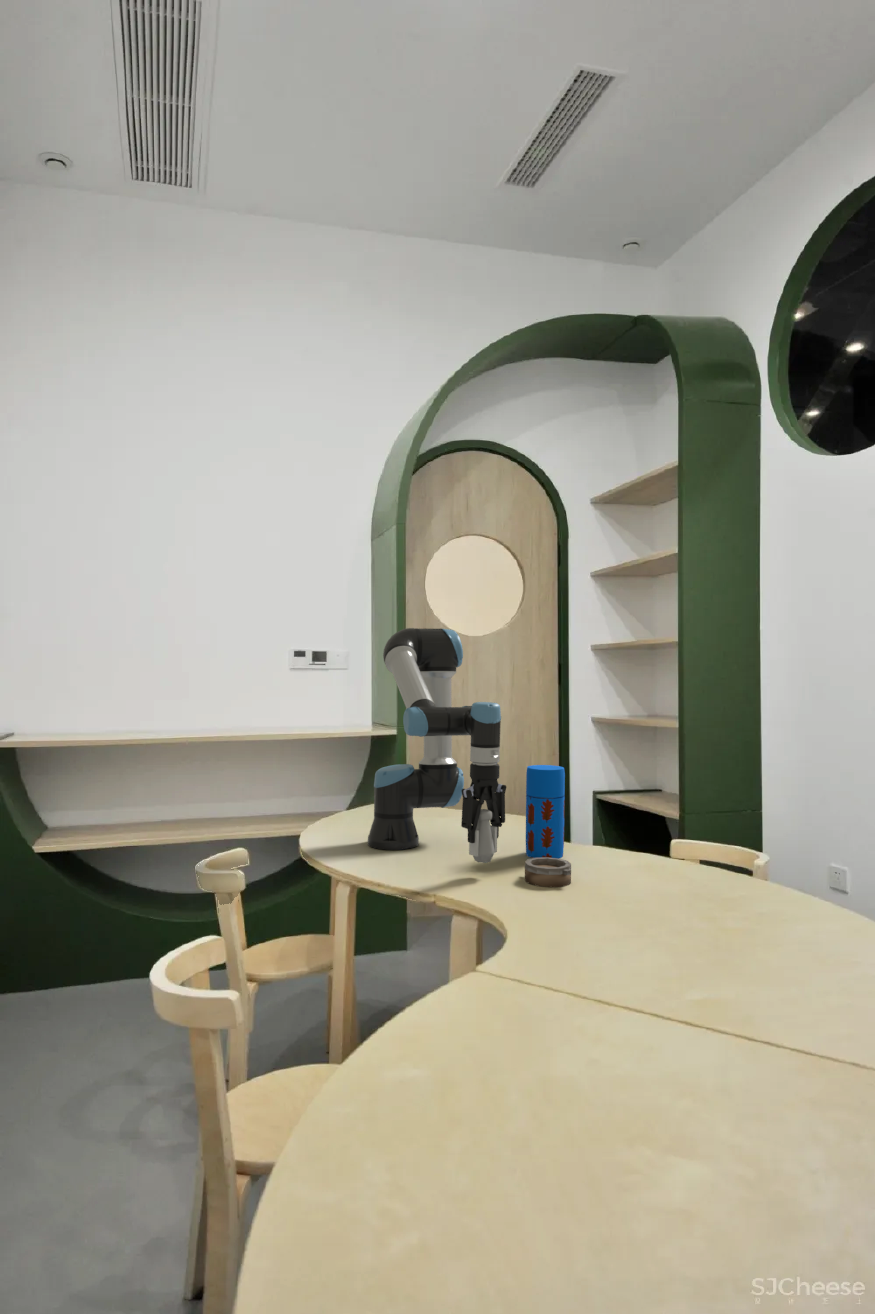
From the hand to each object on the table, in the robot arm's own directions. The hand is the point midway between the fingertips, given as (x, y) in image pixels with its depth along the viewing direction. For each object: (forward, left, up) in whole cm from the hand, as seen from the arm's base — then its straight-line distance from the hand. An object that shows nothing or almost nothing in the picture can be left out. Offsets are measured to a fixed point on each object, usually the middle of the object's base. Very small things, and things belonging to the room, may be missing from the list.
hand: (482, 853), depth 210 cm
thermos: (-6, +30, -6) cm, 31 cm away
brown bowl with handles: (+13, +11, -6) cm, 18 cm away
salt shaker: (0, 0, -2) cm, 2 cm away
